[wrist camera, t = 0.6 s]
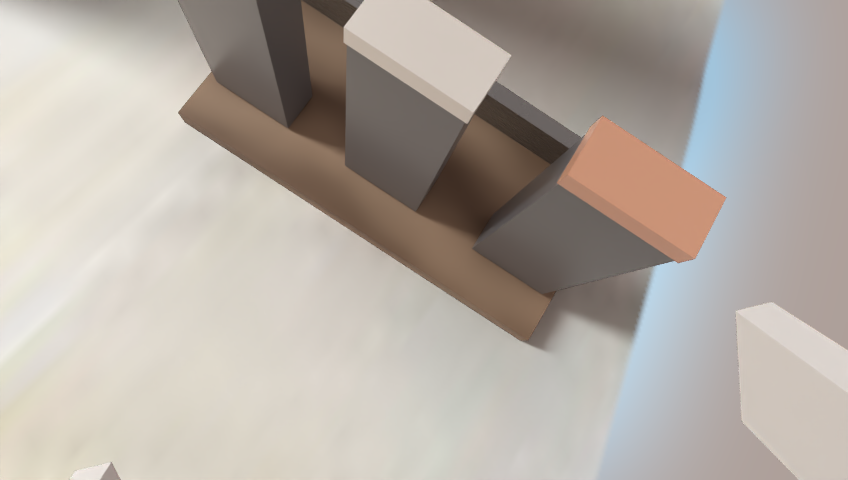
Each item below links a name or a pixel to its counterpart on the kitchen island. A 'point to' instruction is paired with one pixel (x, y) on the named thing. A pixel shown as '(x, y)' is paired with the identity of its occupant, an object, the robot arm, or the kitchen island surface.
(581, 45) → the kitchen island surface
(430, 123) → the key middle
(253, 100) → the key
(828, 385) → the robot arm
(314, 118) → the key console
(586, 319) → the kitchen island surface
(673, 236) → the key
